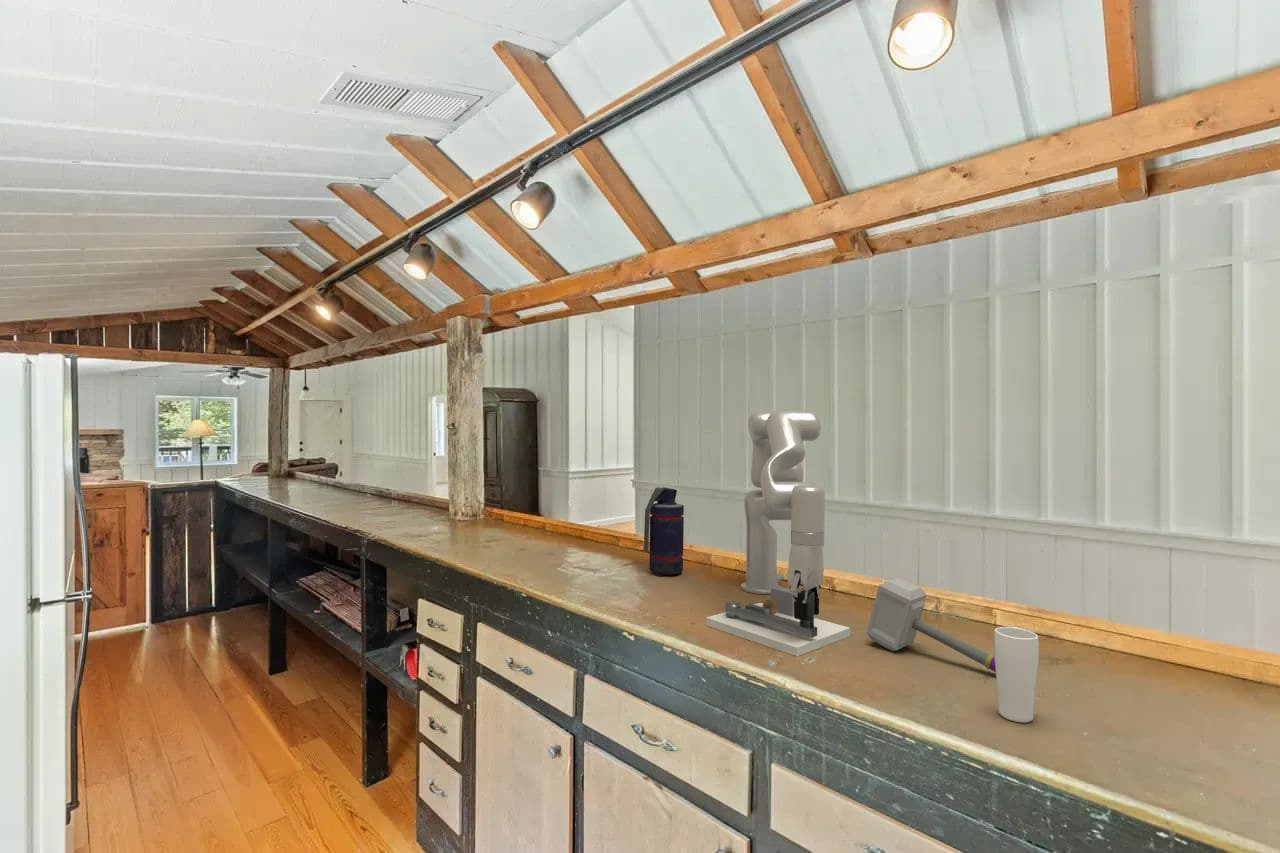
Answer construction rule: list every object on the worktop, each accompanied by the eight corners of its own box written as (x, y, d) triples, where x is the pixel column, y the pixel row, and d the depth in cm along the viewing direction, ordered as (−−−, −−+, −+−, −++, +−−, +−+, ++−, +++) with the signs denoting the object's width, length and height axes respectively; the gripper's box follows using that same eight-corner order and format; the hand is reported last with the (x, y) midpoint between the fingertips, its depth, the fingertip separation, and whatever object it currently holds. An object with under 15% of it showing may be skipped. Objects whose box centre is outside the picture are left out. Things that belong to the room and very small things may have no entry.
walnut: (759, 614, 160) (759, 599, 161) (768, 611, 163) (769, 596, 163) (771, 618, 157) (771, 602, 157) (781, 615, 160) (781, 599, 160)
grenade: (675, 568, 224) (676, 486, 224) (688, 576, 212) (689, 489, 212) (639, 570, 219) (640, 486, 220) (650, 578, 208) (651, 490, 208)
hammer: (1033, 637, 126) (896, 574, 148) (1020, 646, 121) (880, 579, 143) (1012, 703, 129) (881, 631, 151) (998, 714, 124) (864, 638, 146)
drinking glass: (985, 708, 113) (985, 626, 113) (1020, 707, 113) (1020, 626, 113) (1010, 726, 106) (1011, 639, 106) (1047, 725, 106) (1048, 638, 106)
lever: (722, 614, 160) (722, 574, 160) (735, 610, 164) (735, 571, 164) (809, 640, 141) (809, 594, 141) (821, 636, 144) (822, 591, 144)
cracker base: (705, 625, 159) (706, 594, 159) (760, 609, 173) (760, 581, 173) (796, 656, 138) (797, 620, 138) (850, 636, 152) (850, 603, 152)
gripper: (807, 532, 152) (807, 605, 152) (775, 541, 139) (774, 621, 139) (837, 535, 148) (836, 611, 148) (806, 545, 135) (806, 628, 134)
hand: (806, 615), depth 143 cm, fingers open, 5 cm apart
